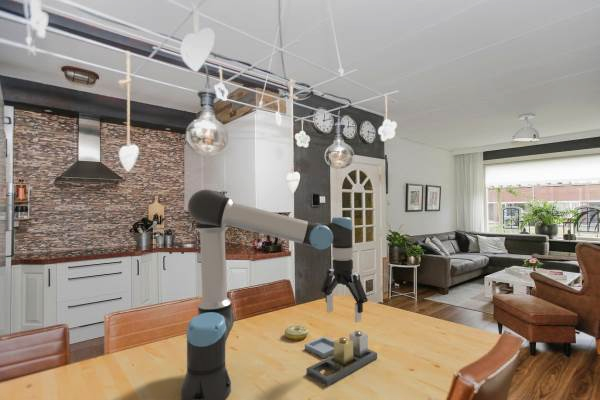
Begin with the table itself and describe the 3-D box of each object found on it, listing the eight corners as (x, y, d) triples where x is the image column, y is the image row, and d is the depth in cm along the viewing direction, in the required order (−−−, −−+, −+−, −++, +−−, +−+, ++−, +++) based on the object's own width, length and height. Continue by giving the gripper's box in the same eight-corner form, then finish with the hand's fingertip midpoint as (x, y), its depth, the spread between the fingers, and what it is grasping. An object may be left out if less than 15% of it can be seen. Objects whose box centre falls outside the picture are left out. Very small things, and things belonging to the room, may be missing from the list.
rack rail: (327, 386, 101) (327, 380, 101) (306, 374, 108) (306, 368, 108) (377, 358, 119) (377, 352, 119) (356, 349, 127) (356, 344, 127)
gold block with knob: (344, 371, 110) (344, 343, 110) (333, 365, 114) (333, 338, 114) (353, 366, 114) (353, 339, 114) (342, 361, 117) (342, 335, 118)
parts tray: (324, 358, 119) (324, 353, 119) (304, 348, 127) (304, 344, 127) (342, 349, 126) (342, 344, 127) (323, 341, 135) (323, 336, 135)
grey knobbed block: (360, 362, 116) (359, 336, 116) (349, 357, 120) (349, 332, 120) (367, 358, 120) (367, 332, 120) (357, 353, 123) (357, 328, 124)
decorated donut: (312, 334, 142) (312, 326, 142) (300, 343, 133) (300, 334, 133) (292, 330, 147) (292, 322, 148) (280, 338, 138) (280, 330, 138)
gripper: (377, 261, 108) (378, 322, 107) (325, 254, 126) (325, 306, 126) (363, 264, 103) (364, 328, 102) (312, 256, 122) (312, 310, 121)
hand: (343, 316), depth 114 cm, fingers open, 13 cm apart
